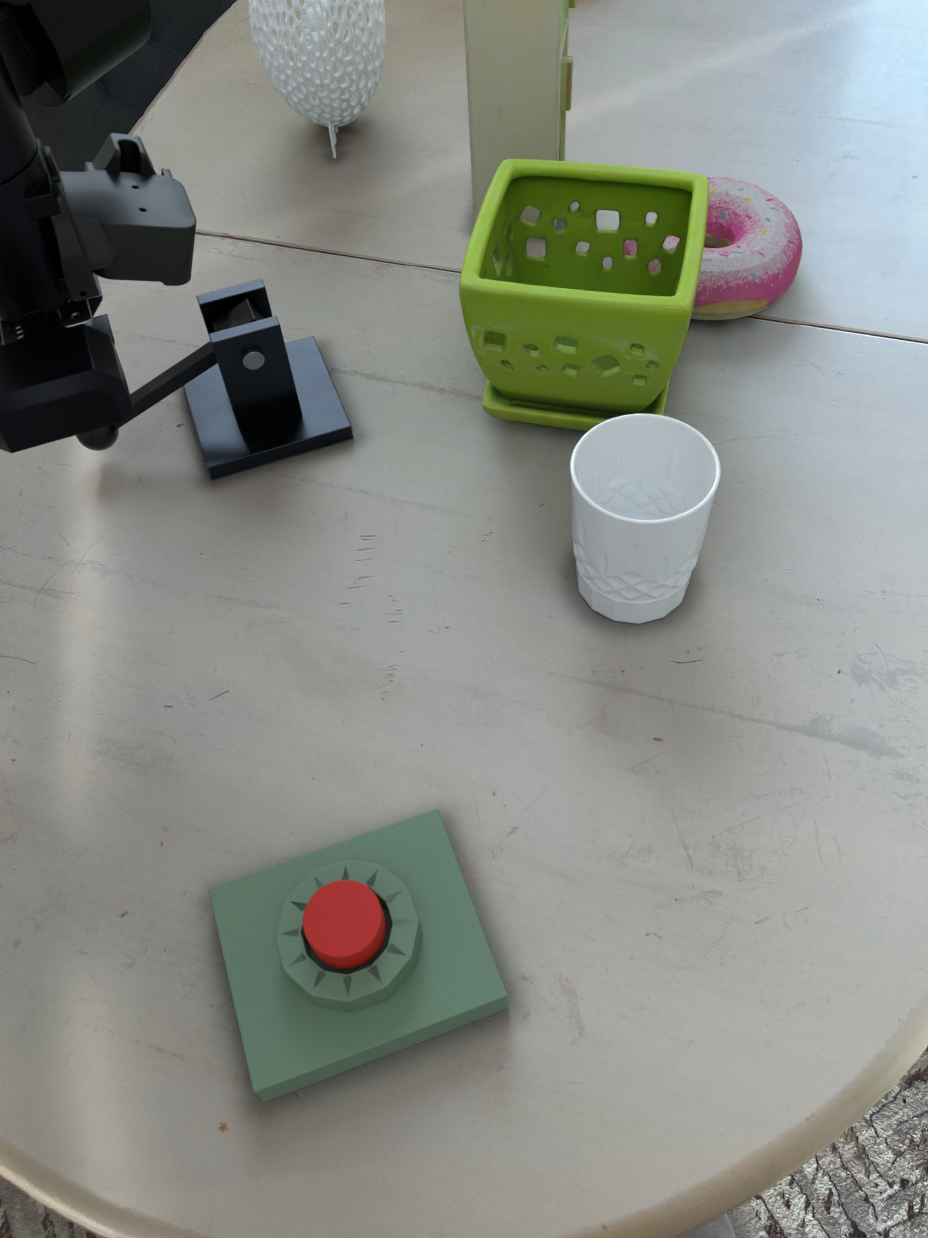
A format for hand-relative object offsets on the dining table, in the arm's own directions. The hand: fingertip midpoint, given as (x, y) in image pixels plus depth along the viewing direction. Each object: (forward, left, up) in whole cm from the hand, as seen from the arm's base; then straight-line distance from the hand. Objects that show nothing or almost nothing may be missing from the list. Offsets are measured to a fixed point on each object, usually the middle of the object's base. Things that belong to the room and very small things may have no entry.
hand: (92, 421), depth 59 cm
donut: (+44, +10, -11) cm, 47 cm away
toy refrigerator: (+35, +24, -11) cm, 44 cm away
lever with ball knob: (+5, +9, -8) cm, 13 cm away
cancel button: (+5, -30, -8) cm, 31 cm away
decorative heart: (+24, +42, -11) cm, 50 cm away
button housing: (+5, -30, -11) cm, 32 cm away
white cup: (+27, -14, -11) cm, 32 cm away
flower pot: (+31, +3, -11) cm, 33 cm away
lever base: (+10, +9, -11) cm, 18 cm away
